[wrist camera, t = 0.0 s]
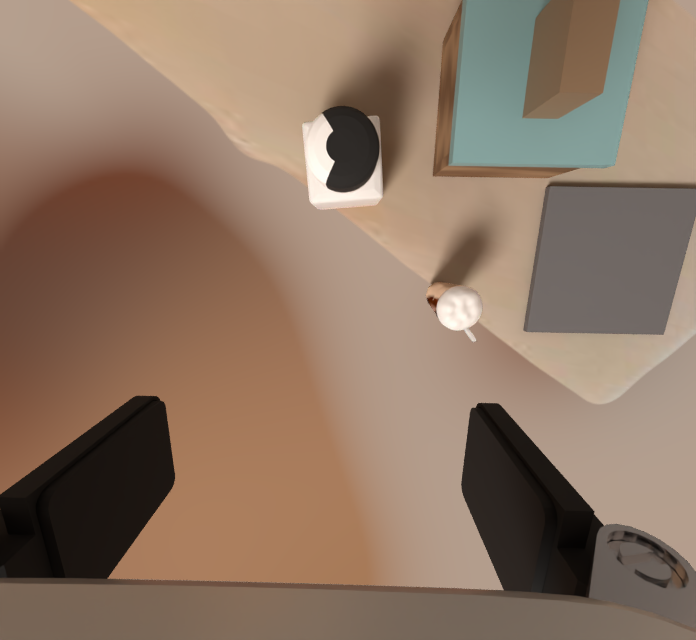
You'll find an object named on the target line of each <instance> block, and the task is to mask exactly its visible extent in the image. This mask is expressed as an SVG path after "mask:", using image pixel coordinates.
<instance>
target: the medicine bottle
mask: <svg viewBox="0 0 696 640" xmlns="http://www.w3.org/2000/svg"><path fill="white" fill-rule="evenodd" d="M302 129H303V139H304V150H305V160H306V170H307V180H308V190H309V199H310V203H312V204H313V205H314V206H315V207H316V208H318V209H319V210H322V209H334V208H347V207H359V206H371V205H377V204H378V202H379V201H380V200H381V198H382V197H383V177H382V155H381V133H380V119H379V117H378V116H366V115H365V114H364V113H362V112H361V111H359V110H357V109H355V108H352V107H347V106H338V107H333V108H330V109H328V110H326V111H324V112H322V113H321V114H320V115H319V116H317V118H316V119H315V120H314V121H309V122H304V123H303V125H302Z"/></svg>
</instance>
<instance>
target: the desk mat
mask: <svg viewBox="0 0 696 640" xmlns="http://www.w3.org/2000/svg"><path fill="white" fill-rule="evenodd" d="M695 217H696V189H682V188H620V187H558V186H550V187H546V191H545V197H544V203H543V210H542V216H541V222H540V228H539V235H538V241H537V247H536V254H535V260H534V266H533V273H532V279H531V285H530V292H529V298H528V304H527V311H526V317H525V323H524V331H526V332H554V333H605V334H656V335H664V331H665V328H666V324H667V320H668V317H669V313H670V309H671V306H672V302H673V298H674V295H675V291H676V287H677V283H678V280H679V276H680V272H681V269H682V265H683V261H684V258H685V254H686V250H687V247H688V243H689V239H690V236H691V232H692V228H693V224H694V221H695Z"/></svg>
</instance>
